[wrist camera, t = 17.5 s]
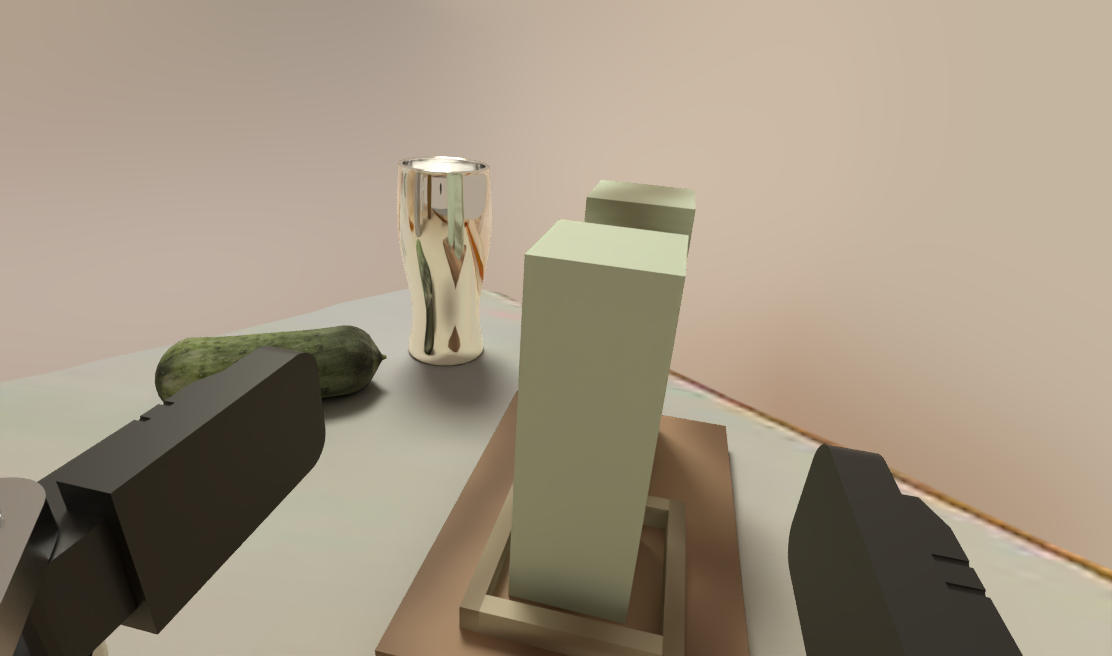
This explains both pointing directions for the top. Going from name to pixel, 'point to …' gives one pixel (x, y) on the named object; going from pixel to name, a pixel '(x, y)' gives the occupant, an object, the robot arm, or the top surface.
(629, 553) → the sage pillar
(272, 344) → the vegetable
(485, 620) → the brown stand with socket
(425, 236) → the beer glass
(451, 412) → the top surface
